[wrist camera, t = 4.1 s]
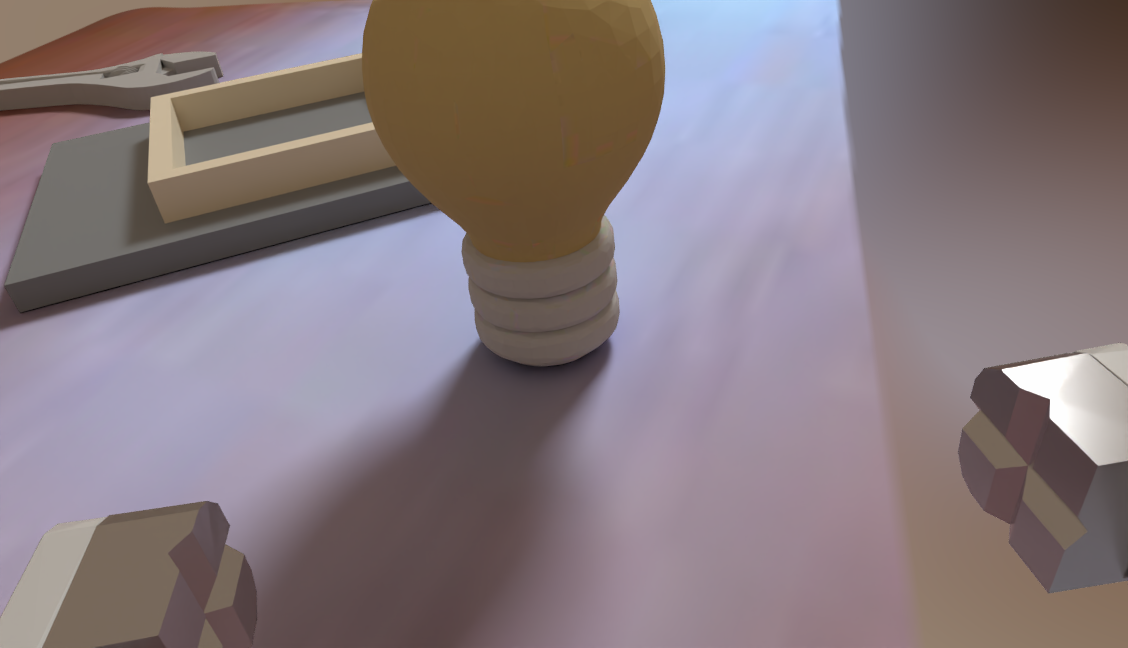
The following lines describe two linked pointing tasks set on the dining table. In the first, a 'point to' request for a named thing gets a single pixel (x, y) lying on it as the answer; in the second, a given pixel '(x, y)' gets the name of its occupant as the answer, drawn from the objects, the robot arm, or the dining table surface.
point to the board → (207, 182)
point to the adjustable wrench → (114, 83)
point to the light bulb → (521, 148)
